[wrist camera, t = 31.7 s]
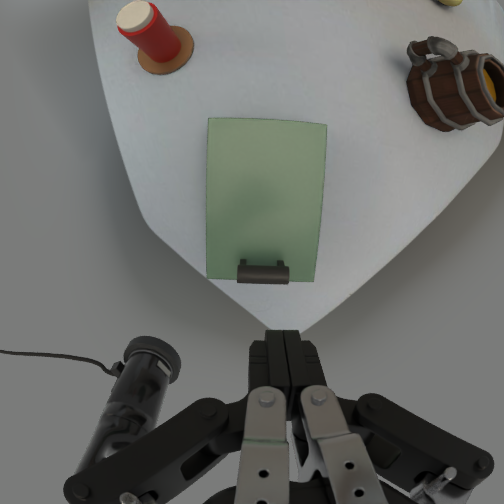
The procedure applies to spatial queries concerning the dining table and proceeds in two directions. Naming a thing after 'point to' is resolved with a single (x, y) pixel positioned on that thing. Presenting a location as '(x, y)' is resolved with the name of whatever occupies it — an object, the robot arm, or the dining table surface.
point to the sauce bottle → (148, 31)
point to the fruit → (451, 2)
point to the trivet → (176, 62)
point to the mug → (454, 85)
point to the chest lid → (263, 199)
